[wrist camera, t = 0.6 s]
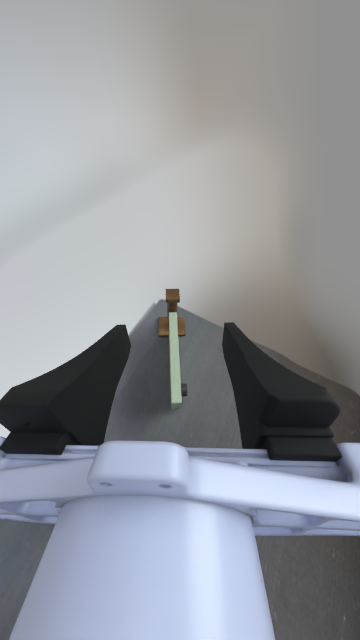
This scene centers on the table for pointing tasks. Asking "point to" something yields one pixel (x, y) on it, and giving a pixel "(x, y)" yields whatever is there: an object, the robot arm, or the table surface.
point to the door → (175, 364)
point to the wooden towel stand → (171, 301)
